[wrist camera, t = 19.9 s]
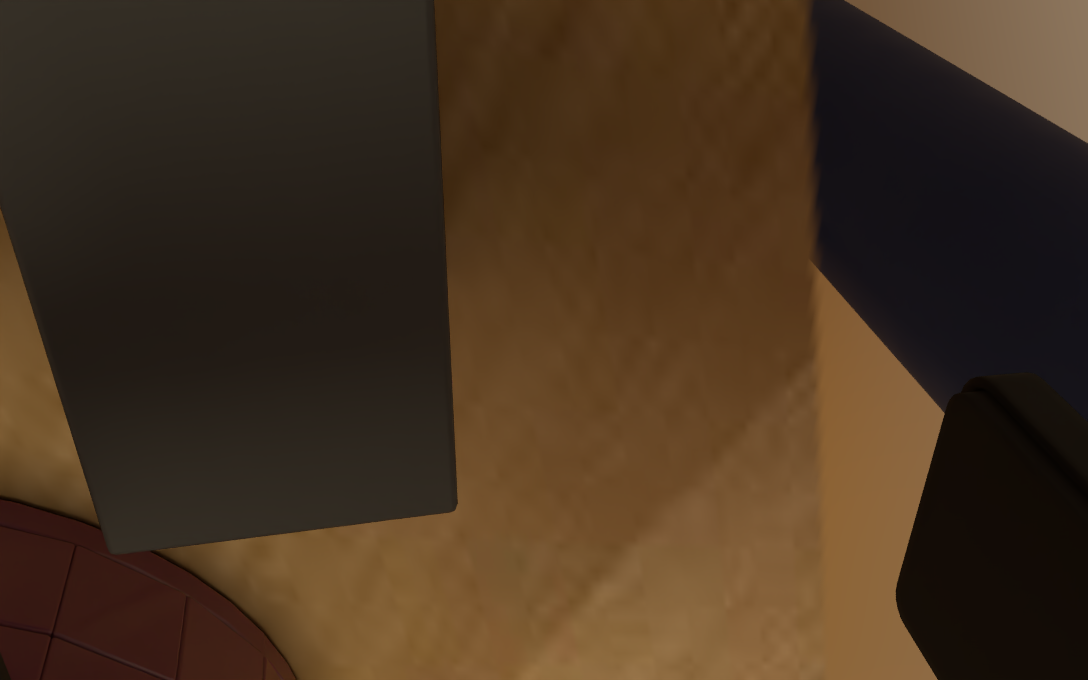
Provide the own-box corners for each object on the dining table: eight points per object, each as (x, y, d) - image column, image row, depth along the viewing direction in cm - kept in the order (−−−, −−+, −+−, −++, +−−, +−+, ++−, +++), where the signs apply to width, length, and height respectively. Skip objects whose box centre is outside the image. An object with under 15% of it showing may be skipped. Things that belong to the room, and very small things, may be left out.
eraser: (381, -282, 12) (423, -262, 8) (419, 302, 16) (459, 514, 12) (16, -285, 11) (-152, -266, 7) (160, 327, 15) (107, 558, 11)
